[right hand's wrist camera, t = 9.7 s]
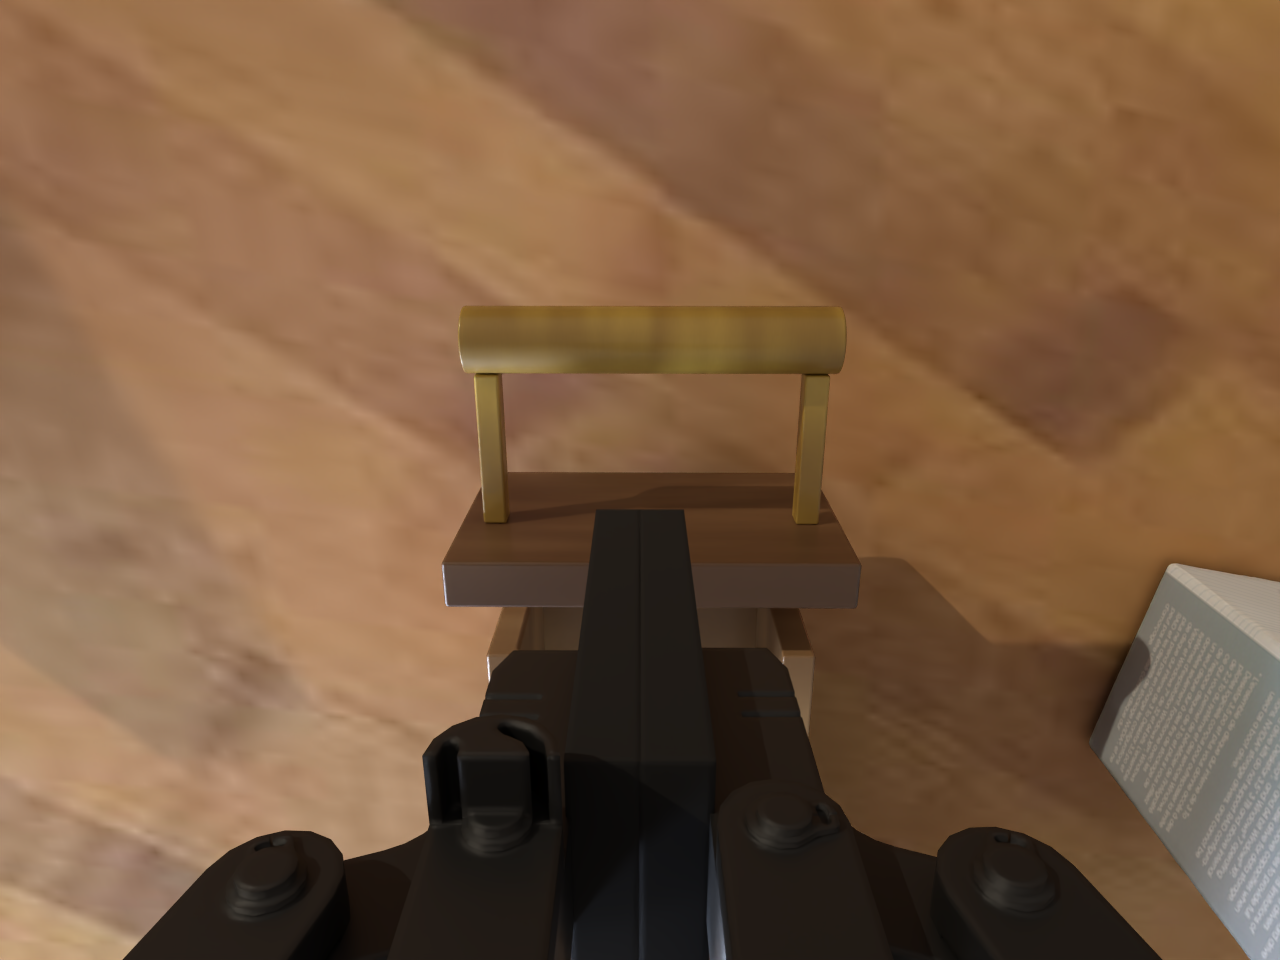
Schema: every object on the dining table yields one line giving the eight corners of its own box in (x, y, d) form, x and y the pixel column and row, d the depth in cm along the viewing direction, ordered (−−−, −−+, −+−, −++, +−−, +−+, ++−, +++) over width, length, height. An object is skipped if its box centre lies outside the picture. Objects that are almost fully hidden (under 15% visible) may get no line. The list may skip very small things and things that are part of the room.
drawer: (475, 285, 24) (419, 325, 18) (827, 285, 24) (886, 326, 18) (516, 905, 32) (486, 1074, 26) (780, 907, 32) (810, 1077, 26)
